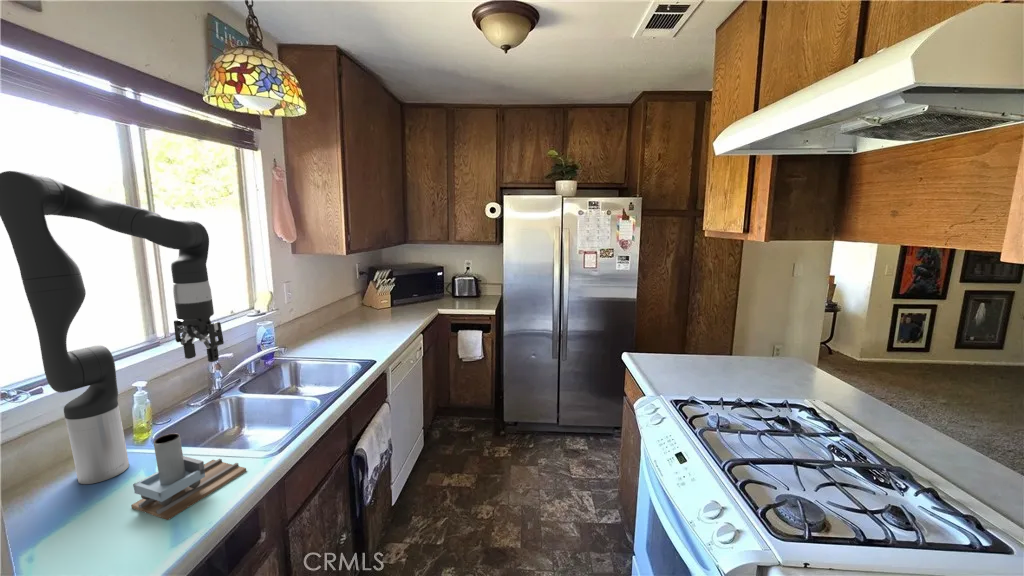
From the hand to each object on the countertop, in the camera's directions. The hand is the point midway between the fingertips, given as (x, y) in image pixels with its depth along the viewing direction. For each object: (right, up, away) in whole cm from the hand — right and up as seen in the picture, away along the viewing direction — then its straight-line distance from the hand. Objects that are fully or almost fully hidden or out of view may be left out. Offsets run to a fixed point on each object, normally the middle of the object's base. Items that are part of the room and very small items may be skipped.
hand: (202, 359), depth 103 cm
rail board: (+4, -30, -8) cm, 31 cm away
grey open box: (+3, -29, -12) cm, 31 cm away
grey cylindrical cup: (+3, -26, -12) cm, 29 cm away
